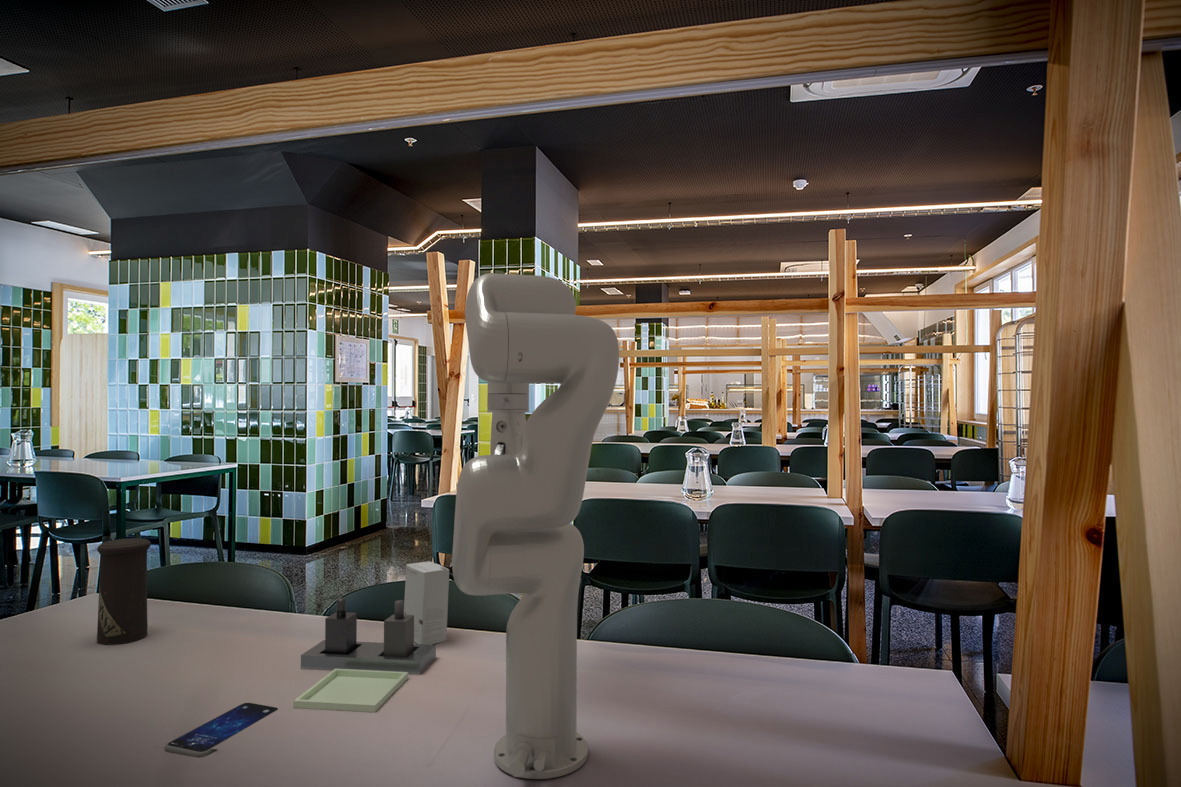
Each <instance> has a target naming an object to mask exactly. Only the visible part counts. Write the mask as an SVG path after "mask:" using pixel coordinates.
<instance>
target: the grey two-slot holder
mask: <svg viewBox="0 0 1181 787" xmlns="http://www.w3.org/2000/svg"><path fill="white" fill-rule="evenodd" d="M357 618H358V616H357V612H347V598H346V597H339V598H337V599H336V611H335V612H334V613H332V614H330V615H329V616H327V617H326V618H325V620H324V621H325V622H324V623H325V624H324V626H325V628H324V629H325V631H324V635H325V636H324V639H323V640H322V641H320V642H319V643H317V644H316V645H314V646H313V647H310V648H309V649H308V650H307V651H305V652H304V653H302V654H301V655H300V669H303V670H323V671H333V670H334V669H353V670H373V671H394V672H408V675H421V674H422V673H423V672H424V671H425V670H426V669H427V668H428V667H429V665H431V663H433V661H434V660H435V659H436V658H437V644H431V645H423V644H416V643H414V652H413V653H412V654H411V655H410V656H409V657H408V658H404V657H384V642H376V641H375V642H374V641H373V642H372V641H357V639H358V638H357V636H358V635H357V631H358V629H357V624H358V619H357Z"/></svg>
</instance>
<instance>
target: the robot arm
mask: <svg viewBox="0 0 1181 787" xmlns="http://www.w3.org/2000/svg"><path fill="white" fill-rule="evenodd" d="M576 311H577V300H576V298H575V295H574V293H573V290H571V288H570V287H569V286H568V285H567V284H566V283H564V282H563V281H562V280H560V279H557V278H555V277H551V276H546V275H545V276H544V275H535V274H534V275H533V274H514V273H513V274H512V273H511V274H509V273H485V274H482V275H480V276H478V277H477V278H476V279H475V280H474V281H473V282H472V284H470V287H469V289H468V292H467V295H466V299H465V308H464V316H465V328H466V334H467V336H466V337H467V341H468V350H469V351H468V352H469V357H470V358H469V359H470V363H471V366H472V367H471V368H472V369H473V372H474V374H475V375H476V376H477V377H478V378H479V379H481V380H482V381H485V382H487V390H486V391H487V392H486V393H487V395H486V396H487V400H486V406H487V409H486V412H487V413H491V421H490V424H491V426H490V441H489V442H490V443H489V444H490V445H489V446H490V447H489V448H490V450H489V451H490V452H489V453H490V454H485V455H478V456H476V457H473V458H471V459H469V460H468V461H467V462H466V463H465V464H464V465H463V467H462V468H461V470H460V473H459V476H458V481H457V484H456V486H457V487H456V495H455V509H454V524H453V528H454V529H453V540H452V541H453V542H452V555H451V556H452V557H451V558H452V559H451V560H452V567H451V568H452V576H453V580H454V584H456V587H457V588H458V589H459V590H460V592H462V593H464V594H465V595H468V596H493V595H508V594H509V595H510V594H519V595H520V594H522V597H520V599H519V600H518V602H517V604H516V605H515V607H514V608H513V609H512V611H511V613H510V614H509V617H508V619H507V624H506V630H505V631H506V632H505V633H506V634H505V637H506V638H505V643H506V644H505V667H506V668H505V735H503V736H502V737H500V739H499V740H498V741H496V744H495V746H494V749H493V759H494V762H495V765H496V766H497V767H498V768H499V769H500V770H502V771H503V772H505V773H507V774H509V775H511V776H512V777H515V778H521V779H527V780H528V779H529V780H547V779H553V778H554V779H555V778H559V777H563V776H566V775H568V774H571V773H573V772H574V771H576V770H578V769H580V768H581V767H582V766H583V765H584V764H585V762H586V761H587V760H588V756H589V745H588V742H587V740H586V739H585V737H583V736H582V735H581V734H580V733H578V732H577V730H578V729H577V726H578V725H577V721H578V720H577V710H578V707H577V702H578V701H577V699H578V698H577V694H578V693H577V692H578V691H577V684H578V683H577V680H578V679H577V678H578V677H577V676H578V675H577V673H578V672H577V668H578V667H577V659H578V657H577V656H578V652H577V650H578V648H577V646H578V645H577V644H578V643H577V642H578V638H577V637H578V602H579V591H580V585H581V578H582V573H583V572H582V571H583V565H584V556H585V545H584V544H585V543H584V540H583V537H582V534H581V532H580V530H579V529H578V528H577V527H576V526H575V525H574V524H572V522H573V521H575V519H576V518H577V516H578V515H579V512H580V510H581V506H582V503H583V497H584V494H585V493H584V492H585V488H586V481H587V476H588V471H589V464H590V459H591V452H592V445H593V441H594V437H595V434H596V432H597V430H598V427H599V424H600V422H601V420H602V418H603V416H604V414H605V412H606V410H607V408H608V405H609V404H610V401H611V399H612V396H613V394H614V390H615V388H616V383H617V379H618V374H619V365H620V364H619V363H620V347H619V340H618V337H617V334H616V332H615V331H614V329H613V328H612V326H610V325H609V324H608V323H607V322H605V321H603V320H601V319H598V318H595V317H592V316H586V315H578V314H576ZM530 384H537V385H538V384H550V385H551V384H557V385H558V384H560V385H559V387H558V388H556V390H555V391H553V392H552V393H550V395H549V396H547V397H546V398H545V399H543V401H541V403H540V404H539V405H538V406H537V407H536V408H535V409H534V410H533V411H532V413H531V414H530V415H529V417H528V418H526V413H530V395H529V394H530Z"/></svg>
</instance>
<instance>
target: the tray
mask: <svg viewBox="0 0 1181 787" xmlns="http://www.w3.org/2000/svg"><path fill="white" fill-rule="evenodd" d="M408 679H409V674H408V672H394V671H373V670H353V669H334V670H330V671H329V673H327V674H326V675H325V676H324V677H322V678H321V679H319V680H318V681H317V682H316V683H315V684H313V685H312V686H311V687H310V688H308V689H307V690H305V691H304V692H303V693H301V694H300V695H299V696H297V698H296V699H294V700H293V701H292V702H293V705H292V708H293V709H310V710H311V709H312V710H326V711H327V710H329V711H330V710H331V711H343V712H347V711H348V712H361V713H376V712H377V711H379V709H380V708H381V707H382V706H383V705H384V704H385V703H386V702H387V701H388V700H389V699H390V697H392V696H393V695H394V694H395V693H396V692H397V690H399V688H400V687H401V686H402V685H403V684H404V683H405V682H406V681H408Z"/></svg>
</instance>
